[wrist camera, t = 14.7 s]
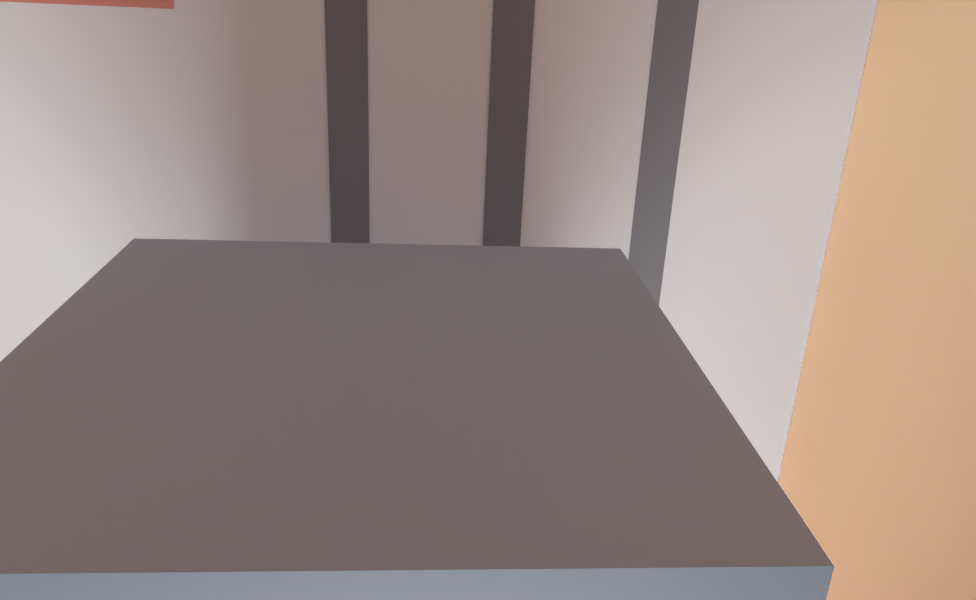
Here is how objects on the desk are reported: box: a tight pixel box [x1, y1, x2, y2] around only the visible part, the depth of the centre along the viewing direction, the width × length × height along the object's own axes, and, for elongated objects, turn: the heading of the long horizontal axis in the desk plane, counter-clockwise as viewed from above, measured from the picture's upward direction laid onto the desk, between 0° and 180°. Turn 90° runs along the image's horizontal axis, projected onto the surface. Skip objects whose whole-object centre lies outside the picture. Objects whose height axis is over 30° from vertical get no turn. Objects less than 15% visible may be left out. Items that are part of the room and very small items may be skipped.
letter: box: [0, 0, 878, 482], centre depth 12 cm, size 16×12×1 cm
